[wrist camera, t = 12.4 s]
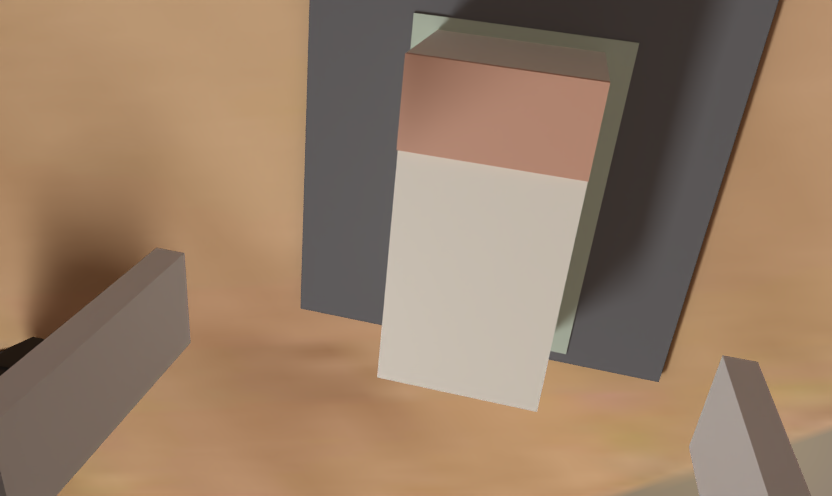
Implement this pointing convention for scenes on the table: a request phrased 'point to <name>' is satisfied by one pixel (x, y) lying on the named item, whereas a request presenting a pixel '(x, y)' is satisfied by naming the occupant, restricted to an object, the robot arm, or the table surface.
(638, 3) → the mat
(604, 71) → the rubber eraser
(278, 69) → the table surface
